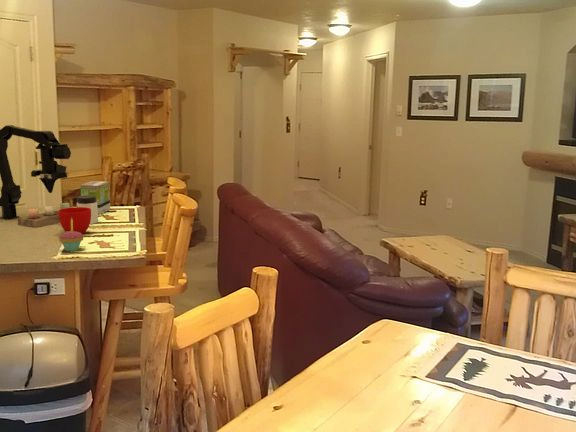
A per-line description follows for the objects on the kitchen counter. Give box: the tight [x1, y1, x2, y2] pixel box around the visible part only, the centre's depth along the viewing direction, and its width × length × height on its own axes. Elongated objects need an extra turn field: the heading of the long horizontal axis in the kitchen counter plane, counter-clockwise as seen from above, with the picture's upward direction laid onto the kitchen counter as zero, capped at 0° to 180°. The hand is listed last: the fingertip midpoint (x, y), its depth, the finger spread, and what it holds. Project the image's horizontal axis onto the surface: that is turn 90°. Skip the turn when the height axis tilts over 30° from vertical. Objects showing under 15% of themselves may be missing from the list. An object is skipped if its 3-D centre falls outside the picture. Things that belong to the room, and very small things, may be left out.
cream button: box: [44, 205, 56, 216], centre depth 275 cm, size 4×4×4 cm
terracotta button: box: [27, 207, 40, 219], centre depth 268 cm, size 4×4×4 cm
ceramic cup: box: [57, 206, 91, 235], centre depth 253 cm, size 13×17×10 cm
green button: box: [59, 202, 71, 209], centre depth 282 cm, size 4×4×4 cm
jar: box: [76, 195, 99, 225], centre depth 272 cm, size 9×8×12 cm
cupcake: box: [58, 218, 84, 252], centre depth 224 cm, size 9×8×12 cm
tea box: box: [80, 180, 111, 216], centre depth 297 cm, size 15×10×15 cm
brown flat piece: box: [17, 209, 60, 228], centre depth 276 cm, size 12×25×3 cm, turn 149°
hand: (50, 192), depth 276 cm, fingers closed
